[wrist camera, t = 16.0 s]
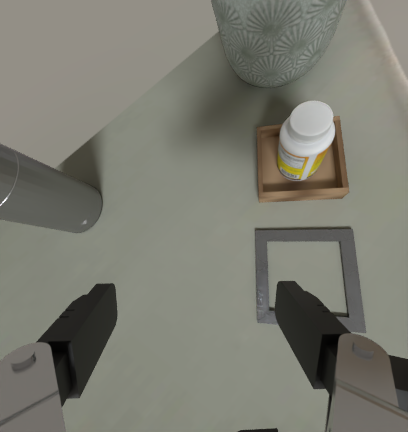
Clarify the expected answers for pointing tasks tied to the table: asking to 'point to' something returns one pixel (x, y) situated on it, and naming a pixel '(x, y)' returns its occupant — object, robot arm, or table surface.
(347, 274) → the grey square frame
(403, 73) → the table surface
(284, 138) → the supplement bottle
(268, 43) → the planter
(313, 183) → the tray
